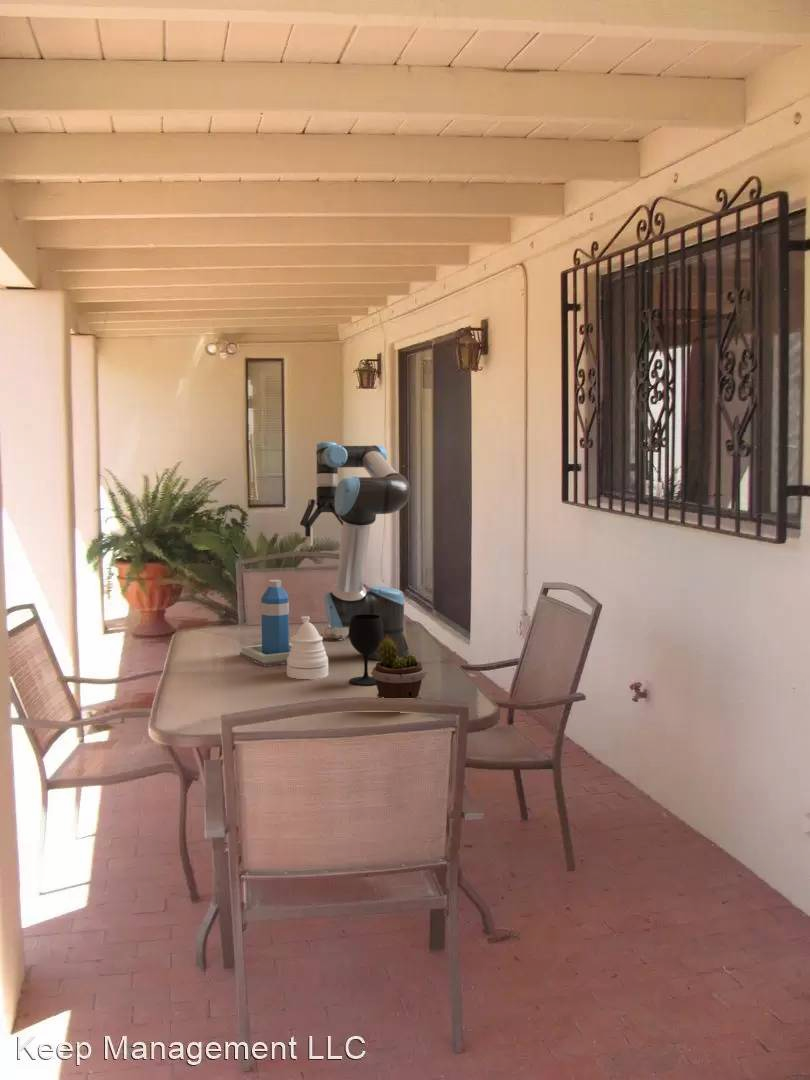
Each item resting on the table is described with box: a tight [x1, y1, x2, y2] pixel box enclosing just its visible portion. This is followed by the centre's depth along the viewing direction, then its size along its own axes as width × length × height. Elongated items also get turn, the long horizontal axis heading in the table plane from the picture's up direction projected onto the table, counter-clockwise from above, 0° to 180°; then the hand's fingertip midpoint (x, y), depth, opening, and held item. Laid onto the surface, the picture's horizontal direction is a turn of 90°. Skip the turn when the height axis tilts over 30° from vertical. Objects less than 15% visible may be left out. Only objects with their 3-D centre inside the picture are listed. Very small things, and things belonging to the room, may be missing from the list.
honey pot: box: [286, 615, 329, 680], centre depth 323 cm, size 13×13×18 cm
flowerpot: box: [370, 634, 428, 700], centre depth 288 cm, size 14×15×20 cm
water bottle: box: [260, 579, 290, 655], centre depth 346 cm, size 9×9×25 cm
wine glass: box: [348, 614, 383, 687], centre depth 314 cm, size 10×10×20 cm
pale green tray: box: [239, 642, 293, 667], centre depth 347 cm, size 20×17×3 cm
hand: (327, 546), depth 369 cm, fingers open, 13 cm apart
